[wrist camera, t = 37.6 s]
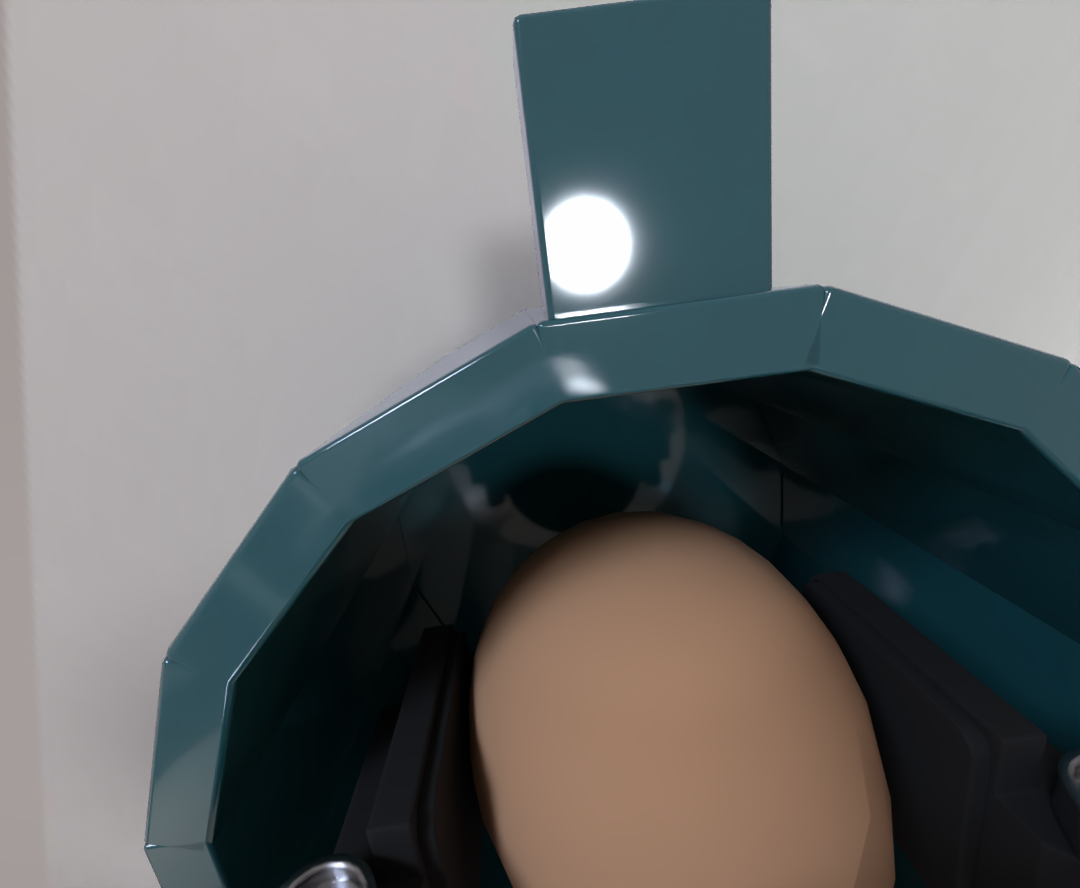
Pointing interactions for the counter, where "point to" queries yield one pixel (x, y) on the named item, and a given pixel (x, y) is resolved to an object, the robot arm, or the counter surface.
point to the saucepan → (625, 451)
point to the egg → (671, 720)
